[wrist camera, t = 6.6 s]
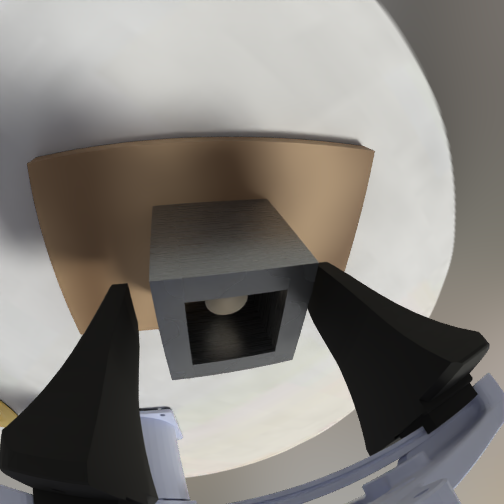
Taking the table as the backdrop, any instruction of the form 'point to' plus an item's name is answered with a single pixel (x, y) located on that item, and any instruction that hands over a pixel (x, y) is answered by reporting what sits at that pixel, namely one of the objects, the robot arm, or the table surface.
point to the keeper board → (179, 192)
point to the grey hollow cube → (227, 285)
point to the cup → (6, 415)
